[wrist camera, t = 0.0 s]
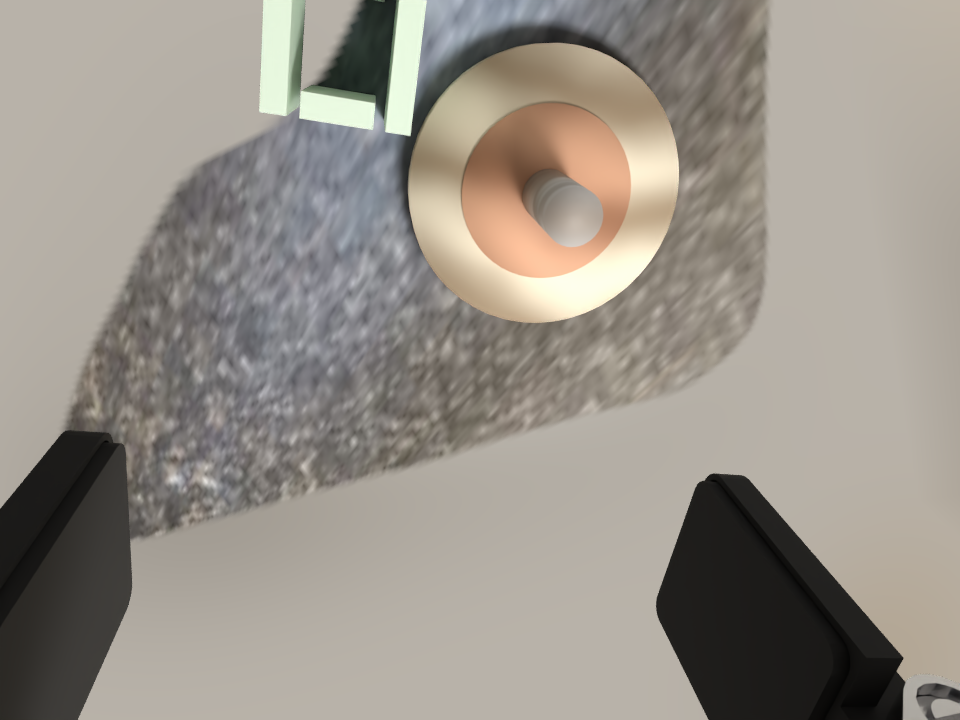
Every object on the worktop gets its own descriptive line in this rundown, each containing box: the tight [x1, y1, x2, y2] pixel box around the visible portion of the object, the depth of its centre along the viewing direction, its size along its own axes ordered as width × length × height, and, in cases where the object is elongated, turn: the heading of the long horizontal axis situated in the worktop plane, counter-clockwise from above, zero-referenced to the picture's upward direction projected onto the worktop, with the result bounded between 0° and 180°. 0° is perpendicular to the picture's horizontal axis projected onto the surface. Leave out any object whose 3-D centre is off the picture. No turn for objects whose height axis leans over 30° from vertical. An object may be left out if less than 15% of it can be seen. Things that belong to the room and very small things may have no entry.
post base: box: [408, 43, 679, 323], centre depth 37 cm, size 16×16×8 cm
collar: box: [259, 0, 427, 136], centre depth 33 cm, size 7×7×6 cm
